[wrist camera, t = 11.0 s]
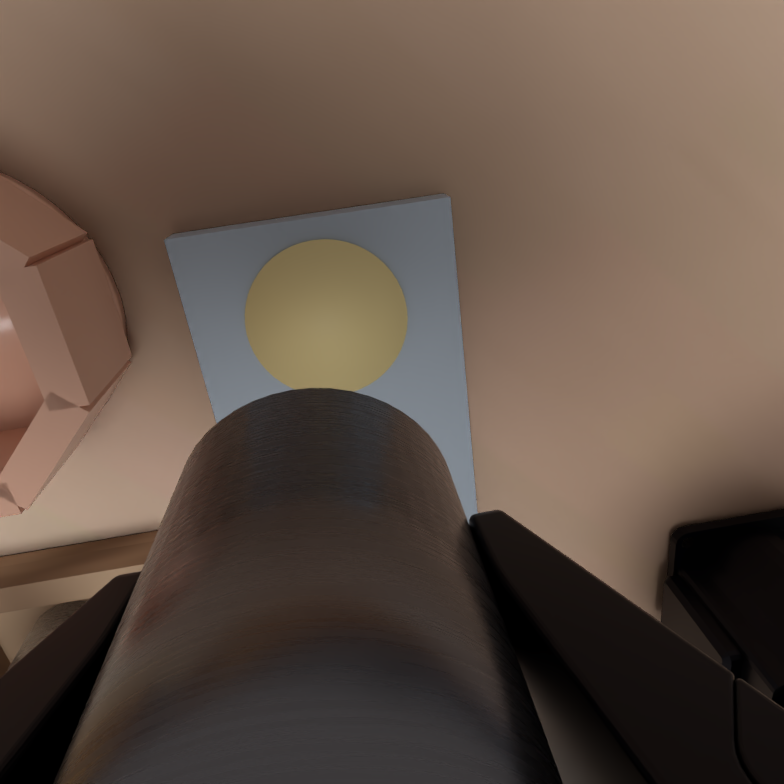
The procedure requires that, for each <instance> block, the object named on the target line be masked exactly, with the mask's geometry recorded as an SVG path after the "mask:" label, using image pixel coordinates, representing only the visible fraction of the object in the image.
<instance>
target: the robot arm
mask: <svg viewBox="0 0 784 784" xmlns="http://www.w3.org/2000/svg"><path fill="white" fill-rule="evenodd" d="M469 526H470V529H471V532H472V534H473V537H474V540H475V543H476V545H477V548H478V551H479V554H480V556H481V559H482V562H483V565H484V567H485V570H486V573H487V576H488V579H489V581H490V584H491V587H492V590H493V592H494V595H495V598H496V601H497V603H498V606H499V609H500V612H501V614H502V617H503V620H504V623H505V625H506V628H507V631H508V634H509V636H510V639H511V642H512V645H513V647H514V650H515V653H516V656H517V658H518V661H519V664H520V667H521V669H522V672H523V675H524V678H525V680H526V683H527V686H528V689H529V691H530V694H531V697H532V700H533V702H534V705H535V708H536V711H537V714H538V716H539V719H540V722H541V725H542V727H543V730H544V733H545V736H546V738H547V741H548V744H549V747H550V749H551V752H552V755H553V758H554V760H555V763H556V766H557V769H558V771H559V774H560V777H561V780H562V782H563V784H784V509H781V510H775V511H770V512H764V513H758V514H752V515H746V516H741V517H735V518H729V519H723V520H718V521H712V522H706V523H700V524H695V525H689V526H683V527H680V528H678V529H677V530H675V531H674V532H673V534H672V535H671V538H670V549H669V561H668V573H667V578H666V580H665V582H664V591H663V603H662V616H661V622H660V621H658V620H657V619H655V618H654V617H653V616H651V615H650V614H648V613H647V612H645V611H644V610H643V609H641V608H640V607H638V606H637V605H635V604H634V603H633V602H631V601H630V600H628V599H627V598H626V597H624V596H623V595H621V594H620V593H618V592H617V591H616V590H614V589H613V588H611V587H610V586H608V585H607V584H606V583H604V582H603V581H601V580H600V579H598V578H597V577H596V576H594V575H593V574H591V573H590V572H588V571H587V570H586V569H584V568H583V567H581V566H580V565H579V564H577V563H576V562H574V561H573V560H571V559H570V558H569V557H567V556H566V555H564V554H563V553H561V552H560V551H559V550H557V549H556V548H554V547H553V546H551V545H550V544H549V543H547V542H546V541H544V540H543V539H542V538H540V537H539V536H537V535H536V534H534V533H533V532H532V531H530V530H529V529H527V528H526V527H524V526H523V525H522V524H520V523H519V522H517V521H516V520H514V519H513V518H512V517H510V516H509V515H507V514H506V513H504V512H503V511H500V510H494V511H488V512H483V513H477V514H473V515H472V516H471V517H470V519H469ZM685 539H686V540H685ZM684 540H685V541H684ZM140 573H141V571H139V572H133V573H127V574H122V575H118V576H116V577H114V578H113V579H112V580H111V581H109V582H108V583H107V584H106V585H105V586H104V587H103V588H101V589H100V590H99V591H98V592H97V593H96V594H95V595H93V596H92V597H91V598H90V599H89V600H88V601H87V602H86V603H84V604H83V605H82V606H81V607H80V608H79V609H78V610H76V611H75V612H74V613H73V614H72V615H71V616H70V617H68V618H67V619H66V620H65V621H64V622H63V623H62V624H61V625H59V626H58V627H57V628H56V629H55V630H54V631H53V632H51V633H50V634H49V635H48V636H47V637H46V638H45V639H43V640H42V641H41V642H40V643H39V644H38V645H37V646H35V647H34V648H33V649H32V650H31V651H30V652H29V653H28V654H26V655H25V656H24V657H23V658H22V659H21V660H20V661H18V662H17V663H16V664H15V665H14V666H13V667H12V668H10V669H9V670H8V671H7V672H6V673H5V674H4V675H3V676H1V677H0V784H53V783H54V781H55V778H56V776H57V773H58V771H59V769H60V766H61V764H62V761H63V759H64V756H65V754H66V752H67V749H68V747H69V744H70V742H71V740H72V737H73V735H74V732H75V730H76V727H77V725H78V723H79V720H80V718H81V715H82V713H83V711H84V708H85V706H86V703H87V701H88V698H89V696H90V694H91V691H92V689H93V686H94V684H95V682H96V679H97V677H98V674H99V672H100V669H101V667H102V665H103V662H104V660H105V657H106V655H107V653H108V650H109V648H110V645H111V643H112V641H113V638H114V636H115V633H116V631H117V628H118V626H119V624H120V621H121V619H122V616H123V614H124V612H125V609H126V607H127V604H128V602H129V599H130V597H131V595H132V592H133V590H134V587H135V585H136V583H137V580H138V578H139V575H140Z"/></svg>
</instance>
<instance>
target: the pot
mask: <svg viewBox="0 0 784 784" xmlns="http://www.w3.org/2000/svg"><path fill="white" fill-rule="evenodd" d="M86 234H87V232H86V231H84V230H83V229H81V228H80V227H78V226H77V225H76V224H75V223H74V222H73V220H71V219H70V218H69V217H68V216H67V215H66V214H65V213H64V212H62V211H61V210H60V209H59V208H58V207H57V206H56V205H55V204H53V203H52V202H50V201H49V200H48V199H46V198H45V197H44V196H42V195H41V194H39V193H38V192H37V191H35V190H34V189H32V188H30V187H28V186H27V185H25V184H23V183H21V182H20V181H18V180H16V179H14V178H12V177H10V176H8V175H6V174H3V173H1V172H0V517H5V516H11V515H17V514H21V513H22V512H23V511H24V510H25V509H26V510H28V509H29V507H30V506H31V505H32V504H33V502H34V501H35V500H36V498H37V497H38V496H39V495H40V493H41V492H42V491H43V490H44V488H45V487H46V486H47V484H48V483H49V482H50V481H51V479H52V478H53V477H54V476H55V474H56V473H57V472H58V470H59V469H60V468H61V467H62V465H63V464H64V463H65V462H66V460H67V459H68V458H69V457H70V455H71V454H72V453H73V451H74V450H75V449H76V448H77V446H78V445H79V443H80V442H81V440H82V439H83V437H84V436H85V434H86V432H87V431H88V429H89V428H90V426H91V425H92V423H93V421H94V420H95V418H96V417H97V415H98V414H99V412H100V411H101V409H102V408H103V406H104V405H105V404H106V402H107V401H108V400H109V398H110V397H111V395H112V393H113V391H114V390H115V388H116V386H117V384H118V382H119V381H120V379H121V378H122V376H123V375H124V373H125V371H126V370H127V368H128V367H129V365H130V364H131V362H130V361H129V359H130V358H131V357H132V354H131V351H130V348H129V345H128V342H127V328H126V320H125V313H124V309H123V305H122V301H121V297H120V294H119V291H118V289H117V286H116V284H115V281H114V279H113V276H112V274H111V273H110V271H109V269H108V267H107V265H106V264H105V262H104V260H103V258H102V256H101V255H100V254H99V252H98V251H97V249H96V247H95V244H94V241H93V239H90V240H89V238H88V237H87V236H86Z"/></svg>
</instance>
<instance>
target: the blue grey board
mask: <svg viewBox="0 0 784 784" xmlns="http://www.w3.org/2000/svg"><path fill="white" fill-rule="evenodd" d="M164 242H165V246H166V249H167V253H168V256H169V260H170V263H171V266H172V270H173V273H174V277H175V280H176V284H177V287H178V291H179V294H180V298H181V301H182V305H183V308H184V312H185V315H186V319H187V322H188V326H189V329H190V332H191V336H192V339H193V343H194V346H195V350H196V353H197V357H198V360H199V364H200V367H201V371H202V374H203V378H204V381H205V385H206V388H207V391H208V395H209V398H210V402H211V405H212V409H213V412H214V416H215V419H216V423H218V422H219V421H220V420H222V419H223V418H225V417H226V416H228V415H229V414H230V413H232V412H233V411H235V410H236V409H238V408H240V407H242V406H244V405H246V404H248V403H250V402H252V401H255V400H257V399H260V398H263V397H266V396H269V395H271V394H275V393H280V392H284V391H289V390H296V389H306V388H333V389H340V390H347V391H353V392H356V393H360V394H364V395H368V396H371V397H373V398H376V399H378V400H381V401H383V402H386V403H388V404H390V405H391V406H393V407H395V408H397V409H398V410H400V411H402V412H404V413H405V414H406V415H408V416H409V417H410V418H411V419H413V420H414V421H415V422H417V423H418V424H419V425H420V426H421V427H422V428H423V429H424V430H425V431H426V432H427V433H428V434H429V435H430V437H431V438H432V439H433V441H434V442H435V443H436V445H437V446H438V447H439V449H440V451H441V453H442V455H443V457H444V459H445V461H446V463H447V466H448V468H449V471H450V474H451V477H452V479H453V482H454V485H455V488H456V490H457V493H458V496H459V499H460V501H461V504H462V507H463V510H464V512H465V515H466V518H467V521H468V523H469V519H470V517H471V516H472V515H473V514H477V503H476V491H475V479H474V468H473V456H472V444H471V433H470V421H469V409H468V398H467V386H466V374H465V362H464V351H463V339H462V327H461V316H460V304H459V292H458V281H457V269H456V257H455V246H454V234H453V222H452V211H451V199H450V196H448V195H446V194H444V193H443V194H436V195H430V196H423V197H416V198H410V199H403V200H396V201H390V202H383V203H376V204H370V205H363V206H356V207H349V208H343V209H336V210H329V211H323V212H316V213H309V214H303V215H296V216H289V217H282V218H276V219H269V220H262V221H256V222H249V223H242V224H236V225H229V226H222V227H216V228H209V229H202V230H195V231H189V232H182V233H175V234H172V235H170V236H169V237H167V238H166V239H164Z"/></svg>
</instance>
